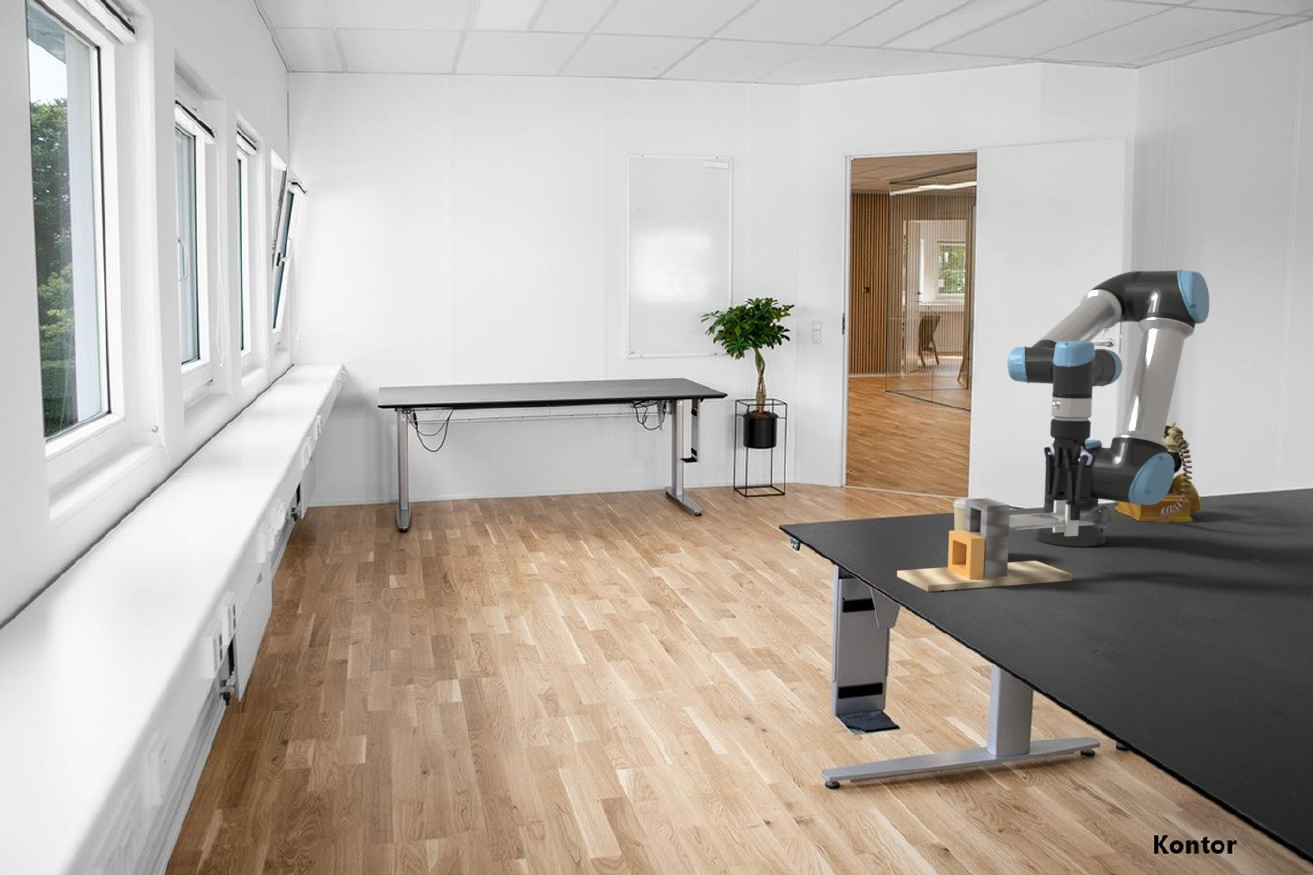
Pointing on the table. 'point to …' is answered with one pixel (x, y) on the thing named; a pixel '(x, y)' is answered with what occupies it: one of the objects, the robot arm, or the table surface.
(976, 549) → the frame
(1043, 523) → the shaft
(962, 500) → the coffee cup
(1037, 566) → the bearing fixture
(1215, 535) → the table surface
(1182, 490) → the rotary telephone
